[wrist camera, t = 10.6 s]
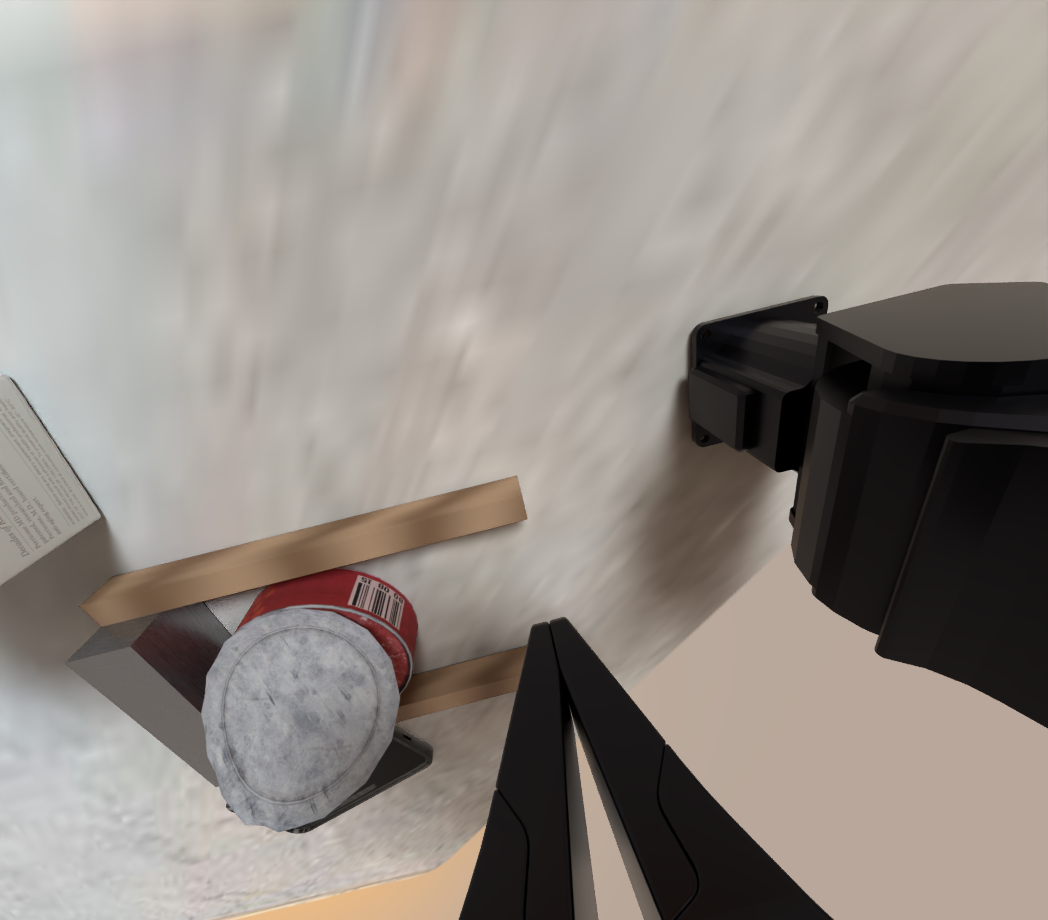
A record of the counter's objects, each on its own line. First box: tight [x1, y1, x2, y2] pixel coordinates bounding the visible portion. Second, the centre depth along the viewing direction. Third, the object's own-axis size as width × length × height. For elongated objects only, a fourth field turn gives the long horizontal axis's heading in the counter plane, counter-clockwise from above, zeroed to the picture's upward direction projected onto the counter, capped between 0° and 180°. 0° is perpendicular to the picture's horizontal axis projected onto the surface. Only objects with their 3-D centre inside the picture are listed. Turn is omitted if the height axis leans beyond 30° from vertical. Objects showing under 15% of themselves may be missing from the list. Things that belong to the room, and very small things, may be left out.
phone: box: [226, 725, 433, 834], centre depth 31 cm, size 8×1×15 cm
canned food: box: [201, 568, 418, 832], centre depth 22 cm, size 11×10×10 cm
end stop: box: [65, 602, 231, 787], centre depth 22 cm, size 3×12×4 cm, turn 12°
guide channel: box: [79, 476, 527, 722], centre depth 23 cm, size 22×15×2 cm
